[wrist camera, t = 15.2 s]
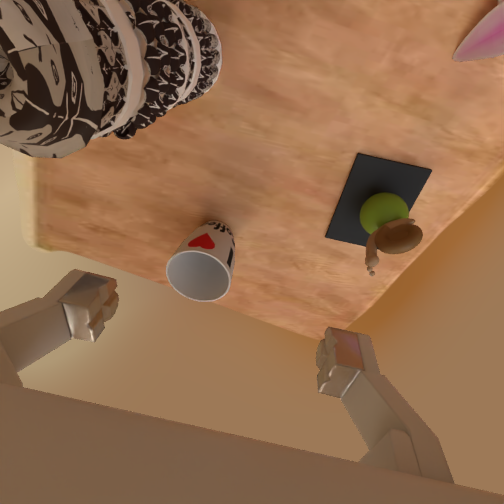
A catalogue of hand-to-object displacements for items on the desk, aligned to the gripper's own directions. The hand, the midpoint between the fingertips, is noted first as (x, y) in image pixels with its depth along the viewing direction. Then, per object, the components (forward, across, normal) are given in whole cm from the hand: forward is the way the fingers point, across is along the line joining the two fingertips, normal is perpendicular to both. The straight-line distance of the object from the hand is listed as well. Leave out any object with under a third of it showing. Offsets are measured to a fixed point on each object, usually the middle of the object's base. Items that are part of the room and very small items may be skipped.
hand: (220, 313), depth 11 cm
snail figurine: (+29, -15, +6) cm, 33 cm away
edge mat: (+29, -15, +6) cm, 33 cm away
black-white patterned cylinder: (+29, +11, -6) cm, 32 cm away
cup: (+29, +5, +16) cm, 34 cm away
